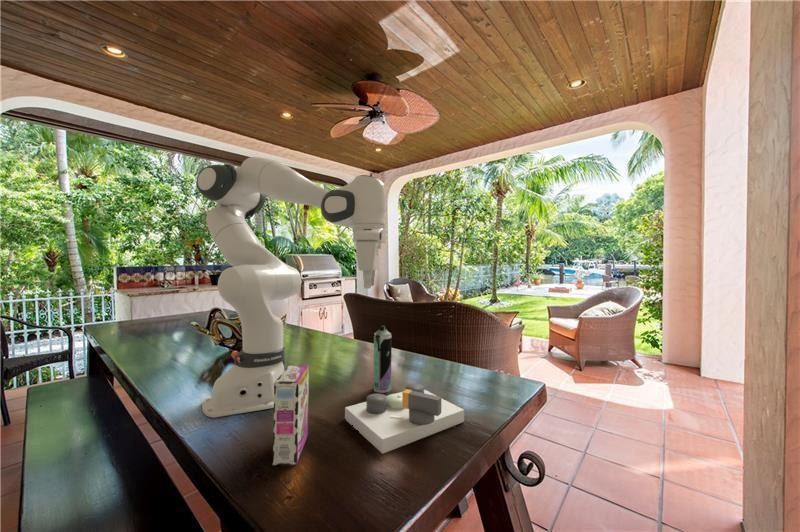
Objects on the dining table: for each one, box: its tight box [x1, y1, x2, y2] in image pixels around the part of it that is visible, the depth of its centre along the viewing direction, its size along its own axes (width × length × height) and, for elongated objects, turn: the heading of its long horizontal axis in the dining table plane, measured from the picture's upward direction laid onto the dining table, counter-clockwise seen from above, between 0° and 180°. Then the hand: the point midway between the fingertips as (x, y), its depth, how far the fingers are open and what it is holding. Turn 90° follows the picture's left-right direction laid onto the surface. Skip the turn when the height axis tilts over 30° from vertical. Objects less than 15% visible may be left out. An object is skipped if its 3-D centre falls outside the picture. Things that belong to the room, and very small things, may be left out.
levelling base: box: [344, 383, 465, 454], centre depth 81 cm, size 24×18×6 cm
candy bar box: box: [272, 365, 310, 467], centre depth 68 cm, size 11×5×16 cm, turn 5°
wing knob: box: [401, 388, 442, 425], centre depth 76 cm, size 9×6×6 cm, turn 61°
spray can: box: [373, 325, 392, 394], centre depth 101 cm, size 6×6×20 cm
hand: (369, 287), depth 88 cm, fingers open, 8 cm apart
